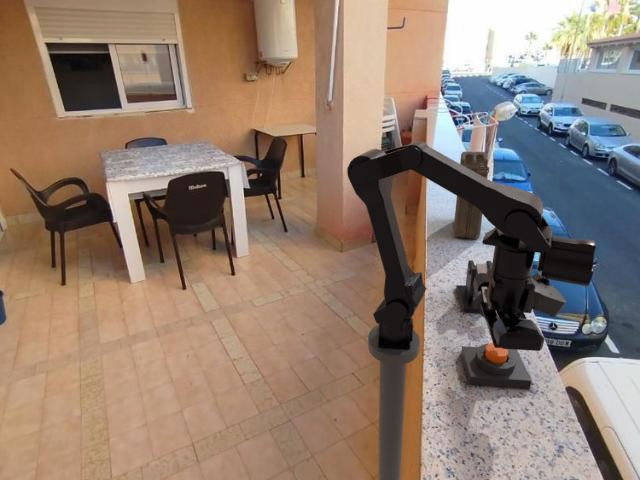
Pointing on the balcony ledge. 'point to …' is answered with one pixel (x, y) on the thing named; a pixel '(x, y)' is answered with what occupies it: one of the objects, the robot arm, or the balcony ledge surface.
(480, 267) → the lever
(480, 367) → the control block
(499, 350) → the button
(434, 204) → the balcony ledge surface
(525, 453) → the balcony ledge surface
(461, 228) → the brown upright rectangular block
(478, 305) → the switch mount
